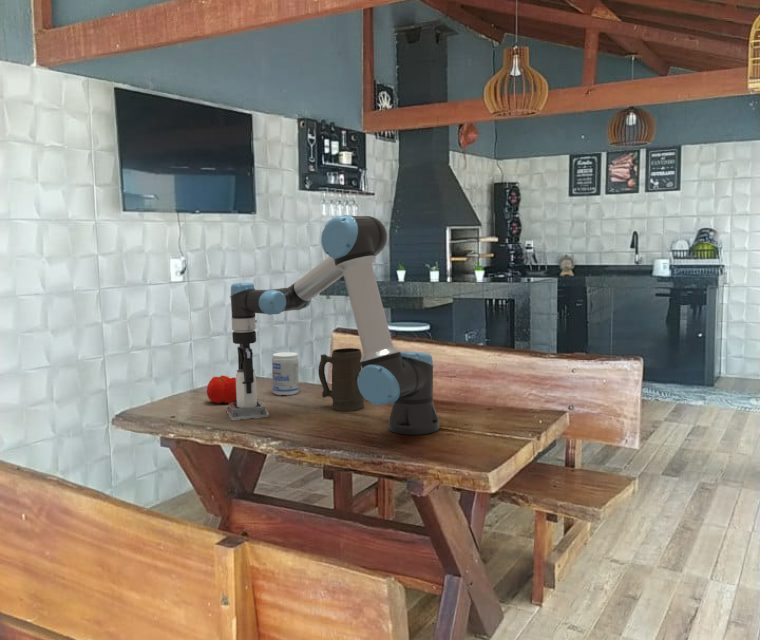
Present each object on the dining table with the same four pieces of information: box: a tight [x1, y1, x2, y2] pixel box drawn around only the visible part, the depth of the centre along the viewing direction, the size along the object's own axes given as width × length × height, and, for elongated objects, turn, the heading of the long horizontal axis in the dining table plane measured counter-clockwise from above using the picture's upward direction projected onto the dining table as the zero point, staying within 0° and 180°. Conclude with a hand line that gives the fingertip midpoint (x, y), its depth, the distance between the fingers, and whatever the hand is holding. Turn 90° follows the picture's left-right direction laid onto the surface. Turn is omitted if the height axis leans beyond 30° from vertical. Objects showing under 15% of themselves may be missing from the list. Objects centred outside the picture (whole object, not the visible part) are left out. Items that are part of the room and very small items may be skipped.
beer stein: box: [317, 347, 365, 412], centre depth 242 cm, size 15×11×20 cm
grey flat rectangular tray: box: [225, 399, 270, 421], centre depth 236 cm, size 14×12×3 cm
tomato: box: [206, 375, 237, 404], centre depth 253 cm, size 11×12×9 cm
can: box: [235, 368, 258, 408], centre depth 235 cm, size 6×6×12 cm
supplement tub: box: [271, 351, 300, 396], centre depth 266 cm, size 10×10×15 cm
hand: (246, 400), depth 236 cm, fingers closed on can, 6 cm apart
